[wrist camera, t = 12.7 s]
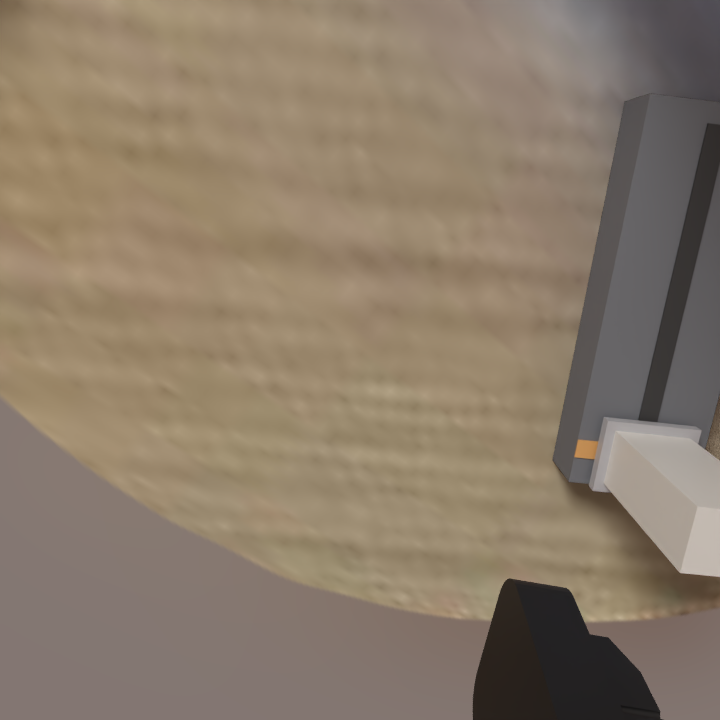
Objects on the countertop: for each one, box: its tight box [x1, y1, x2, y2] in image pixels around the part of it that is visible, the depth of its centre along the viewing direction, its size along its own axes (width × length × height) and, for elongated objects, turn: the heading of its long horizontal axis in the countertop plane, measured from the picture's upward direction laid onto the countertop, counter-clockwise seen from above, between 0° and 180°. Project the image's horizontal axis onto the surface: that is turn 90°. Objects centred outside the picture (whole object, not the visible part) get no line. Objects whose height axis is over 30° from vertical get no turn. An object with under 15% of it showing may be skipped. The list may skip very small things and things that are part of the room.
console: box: [553, 94, 720, 484], centre depth 35 cm, size 20×7×3 cm, turn 174°
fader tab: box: [589, 417, 720, 577], centre depth 31 cm, size 4×5×9 cm
